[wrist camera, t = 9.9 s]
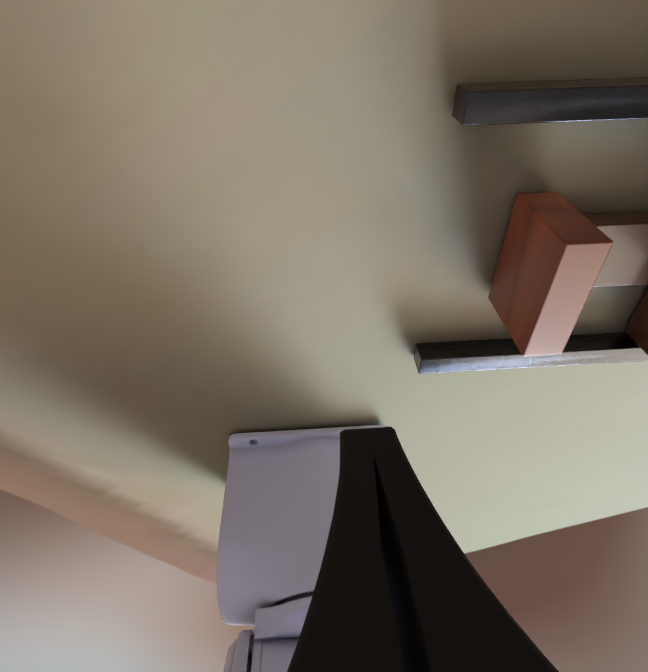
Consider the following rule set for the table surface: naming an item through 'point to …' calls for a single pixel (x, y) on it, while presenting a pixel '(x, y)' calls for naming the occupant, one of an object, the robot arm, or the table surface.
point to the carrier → (565, 269)
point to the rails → (540, 107)
